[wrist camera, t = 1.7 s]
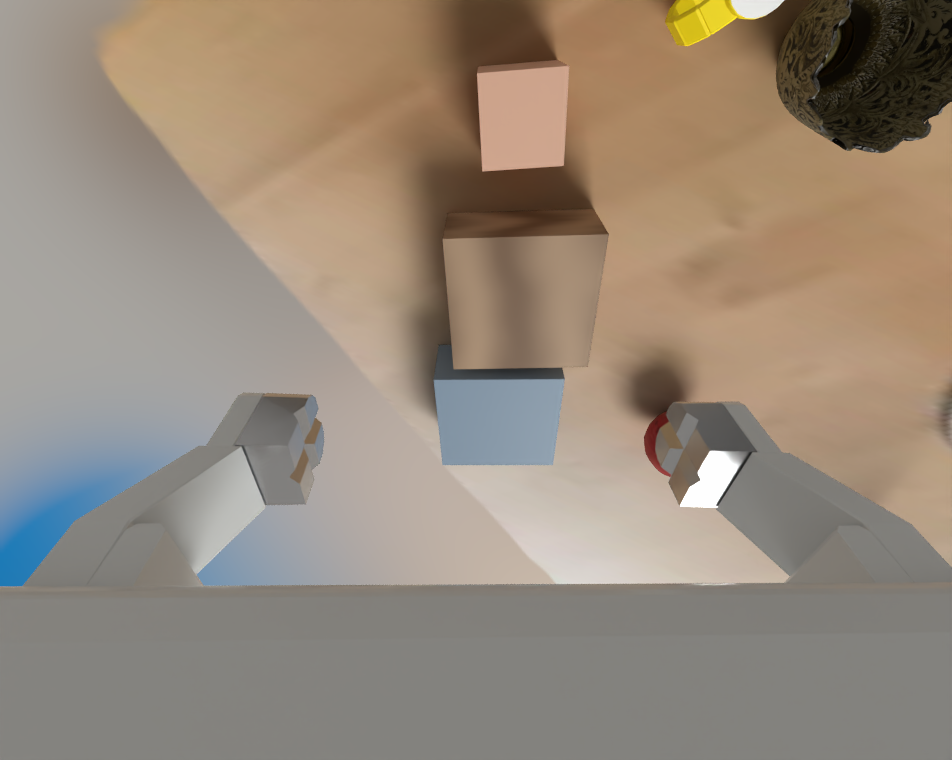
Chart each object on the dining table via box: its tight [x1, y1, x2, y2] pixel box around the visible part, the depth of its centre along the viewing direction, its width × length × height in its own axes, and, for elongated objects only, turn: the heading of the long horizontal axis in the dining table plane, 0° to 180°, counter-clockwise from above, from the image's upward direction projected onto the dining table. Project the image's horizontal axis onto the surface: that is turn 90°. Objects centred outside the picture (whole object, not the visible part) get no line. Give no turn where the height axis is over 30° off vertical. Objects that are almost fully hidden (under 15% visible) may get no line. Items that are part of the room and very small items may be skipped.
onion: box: [644, 411, 671, 477], centre depth 39 cm, size 6×6×8 cm
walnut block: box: [443, 209, 609, 369], centre depth 31 cm, size 10×10×5 cm
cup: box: [776, 0, 952, 153], centre depth 21 cm, size 8×7×8 cm
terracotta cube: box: [477, 60, 569, 171], centre depth 25 cm, size 4×4×4 cm
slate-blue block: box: [434, 345, 565, 465], centre depth 38 cm, size 10×10×5 cm
